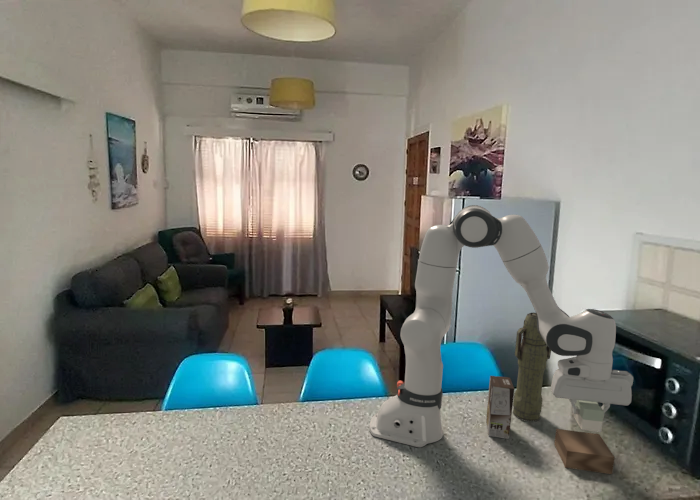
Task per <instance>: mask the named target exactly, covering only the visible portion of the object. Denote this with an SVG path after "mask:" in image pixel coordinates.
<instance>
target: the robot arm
mask: <svg viewBox="0 0 700 500" xmlns="http://www.w3.org/2000/svg"><path fill="white" fill-rule="evenodd" d="M489 246H491V247H492V246H493V247H494V248H495V249H496V251H497V252H498V255H499V257H500V260H501V261H502V264H503V265H504V267H505V269H506V270H507V272H508V273H509V275H510V276H511V277H512V278H513V280H514V281H515V283H517V284H518V285H520V286H521V287H522V288H523V289H524V291H525V292H526V294H527V296H528V298H529V300H530V303H531V305H532V307H533V309H534V311H535V313H536V314H537V329H538V332H539V334H540V336H541V337H542V338H543V339H544V341H545V343H546V347H547V346H548V347H549V348H550V350H551V353H553V354H555V355H557V356H562V357H567V358H563V359H558V361H557V367H558V368H556V370H555V371H554V372H553V376H552V380H551V386H550V390H551V394H552V395H553V396H554V397H555V398H558V399H563V400H564V399H566V400H569V402H570V404H571V406H572V408H571V411H572V415H573V414H578V415H579V412H580V409H579V407H578V406H575V403H576V402H577V400H582V401H591V402H597V403H601V404H602V406H600V407H601V408H602V410H603V411H604V414H603V419H604V417H605V413H606V412H607V411H608V410H609V409H610V407H611V405H619V406H629V405H630V404H631V403H632V396H633V394H632V393H633V392H632V387H633V384H634V383H633V382H634V376H633V375H632V374H631V373H630V372H629V371H627V370H618V369H613V362H614V361H613V360H614V358H613V352H614V348H615V345H616V334H617V326H616V325H617V323H616V321H615V319H614V317H613V316H611V315H610V314H608V313H607V312H604V311H602V310H598V309H594V308H586V309H584V311H582V312H580V313H577V314H575V315H573V316H570V315H569V314H567V313H566V312H565V311H564V310H563V309H562V308H561V307H559V305H558V304H557V302H556V300H555V297H554V295H553V293H552V291H551V289H550V287H549V285H548V281H547V274H548V271H549V269H550V267H549V263H548V259H547V256H546V255H547V254H546V253H545V250H544V248H543V246H542V244H541V242H540V240H539V239H538V236H537V235H536V233H535V231H534V230H533V229H532V227H531V225H530V224H529V223H528V222H527V220H526V219H525V218H524V217H523V216H522V215H520V214H508V215H507V214H506V215H504V216H503V217H499V218H498V217H495V216H493V215H492V214H491V212H490V211H489V210H488V209H486V208H485V207H483V206H482V205H477V204H471V205H468V206H465V207H463V208H461V210H460V211H458V213H457V214H456V215H455V216H454V217H453V219H452V220H451V221H450V223H449V224H435V225H433V226H430V227H429V228H428V229H427V230H426V232H425V235H424V237H423V240H422V244H421V246H420V247H421V248H420V251H419V257H418V261H417V268H416V275H415V282H414V289H415V291H416V292H415V293H416V298H415V299H416V304H415V310H414V311H413V313H411V314H410V315H409V316H408V317H406V319H405V320H404V322H403V323H402V326H401V328H400V333H399V334H400V339H401V342H402V344H403V346H404V347H403V348H404V354H405V373H404V381H403V380H398V381H397V383H396V387H397V391H396V395H394V396H392V397H390V398H388V399H386V400H384V401H383V402H382V404H381V405H380V407H379V409H378V412H377V413H375V414H374V415H372V417H371V419H370V422H369V429H368V430H369V432H370V434H371V435H372V436H373V437H375V438H380V439H384V440H388V441H392V442H395V443H400V444H404V445H408V446H412V447H417V448H423V447H425V446H426V445H427V444H432V443H436V442H438V441H440V440H441V439H442V438H443V436H444V431H443V426H442V418H441V409H442V406H443V388H442V385H443V384H442V381H443V369H444V364H443V361H442V353H441V346H442V345H441V343H442V340H443V338H444V336H445V335H446V334H447V333H448V331H449V330H450V328H451V324H452V309H453V291H454V290H453V289H454V285H455V283H454V282H455V278H456V277H455V276H456V273H457V268H458V267H457V266H458V261H459V255H460V252H461V250H462V248H463V247H466V248H467V247H468V248H471V249H472V248H475V249H476V248H477V249H478V248H483V247H489ZM568 357H569V358H568Z"/></svg>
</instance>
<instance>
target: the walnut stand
mask: <svg viewBox="0 0 700 500" xmlns="http://www.w3.org/2000/svg"><path fill="white" fill-rule="evenodd" d="M554 435H555V437H554V447H555V448H556V451H557V453H558V455H559V457H560V460H561V461H562V464H563V466H564V468H565V469H572V470H580V471H587V472H592V473H593V472H594V473H599V474H600V473H602V474H606V475H607V474H608V475H613V471H614V465H615V464H614V463H615V456H614V454H613V452H612V450H610V448H609V446H608V445H607V444H606V442H605V440H604V438H603V437H602V436H601V435H600V434H599V433H594V432H593V433H592V432H585V431H578V430H570V429H560V428H556V429H555V434H554Z"/></svg>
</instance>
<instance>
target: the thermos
mask: <svg viewBox="0 0 700 500" xmlns="http://www.w3.org/2000/svg"><path fill="white" fill-rule="evenodd" d="M551 354H552V351H551V350H550V348H549V347H548V346H547V344H546V343H545V341H544V339H543V338H542V337H541V336H540V334H539V332H538V329H537V314H536V312H529V313H527V314H526V316H525V318H524V321H523V326H522V327H519V328H518V330H517V331H516V338H515V349H514V356H515V357H516V359H517V366H518V370H517V371H518V373H517V379H516V380H517V381H516V389H515V390H514V397H513V406H512V414H513V416H514V417H515V418H517V419H520V420H521V421H524V420H525V422H530V421H534V422H537V421H539V420H541V412H542V409H543V408H542V407H543V396H542V391H543V384H544V383H543V382H544V374H545V373H544V372H545V370H546V368H547V362H548V360H550V358H551Z"/></svg>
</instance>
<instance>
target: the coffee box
mask: <svg viewBox="0 0 700 500" xmlns="http://www.w3.org/2000/svg"><path fill="white" fill-rule="evenodd" d="M488 384H489V385H488V395H487V406H486V407H487V409H486V417H485V418H486V421H485V424H486V429H487V430H486V431H487V435H488V437H495V438H501V439H505V440H506V439H507V440H509V439H510V433H511V425H512V424H511V423H512V414H513V401H514V393H515V386H514V384H513V382H512V379H511V377H507V376H497V375H489V383H488Z"/></svg>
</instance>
